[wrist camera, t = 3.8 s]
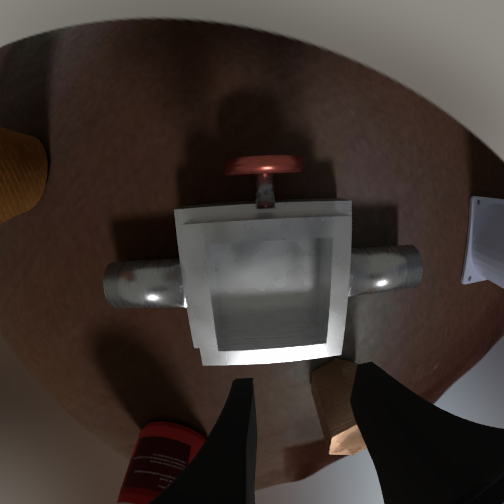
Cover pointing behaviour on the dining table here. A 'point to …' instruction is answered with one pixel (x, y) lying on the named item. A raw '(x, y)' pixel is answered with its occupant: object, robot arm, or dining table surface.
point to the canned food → (158, 460)
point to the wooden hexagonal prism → (337, 406)
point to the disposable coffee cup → (20, 173)
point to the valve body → (264, 272)
